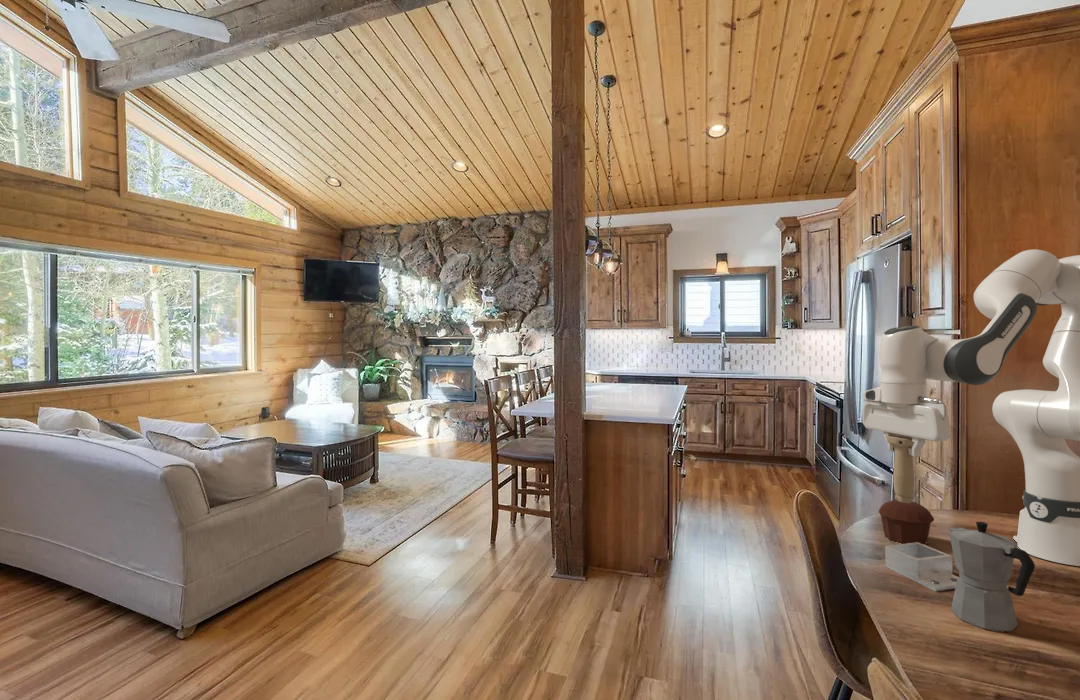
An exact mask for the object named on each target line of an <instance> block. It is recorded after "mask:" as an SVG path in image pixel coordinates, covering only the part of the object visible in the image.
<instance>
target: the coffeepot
mask: <svg viewBox="0 0 1080 700" xmlns="http://www.w3.org/2000/svg"><path fill="white" fill-rule="evenodd" d="M975 525H976V528H977V529H976V530H975V529H966V528H963V527H957V526H953V527H948V528H947V529H948V531H949V533H948V534H949V539H950V544H951V548H952V554H953V558H954V564H955V568H956V569H957V570H958V571H959V572H958V573H959V574H958V575H959V576H958V577H959V578H958V579H957V583H956V588H955V589H954V594H953V599H952V604H951V608H950V609H951V611H952V612H953V614H954V615H955V616H956V617H957V618H958V619H959V618H960V619H959V620H961V621H963V622H964V621H965V623H966V622H967V624H969V625H970V626H973V625H974V626H973V627H977V628H980V629H983V630H989V631H991V632H992V631H993V632H999V631H1001V633H1004V631H1007V632H1006V633H1008V632H1012V631H1014V630H1015V629H1016V627H1018V626H1019V625H1018V624H1019V623H1018V620H1017V615H1016V612H1015V607H1014V602H1013V600H1012V599H1013V598H1012V595H1011V593H1012V594H1013V595H1015V596H1018V597H1022V596H1024V595H1025V592H1026V589H1027V588H1028V584H1029V582H1030V579H1031V577H1032V575H1033V573H1034V571H1035V569H1036V567H1035V566H1036V564H1035V562H1034V560H1033V558H1031V555H1030V554H1028V553H1027V552H1025V551H1024V550H1021V549H1019V548H1018V547H1017V543H1016V542H1015V541H1014V540H1013V541H1012V540H1011V539H1009V538H1008V537H1006V536H1004V535H999V534H996V533H992V532H988V531H987V529H988V525H989V524H988V523H987V522H984V521H976V522H975ZM1015 559H1016V560H1019V562H1020V563H1021V566H1020V568H1019V575H1018V577H1017V578H1016V580H1015V581H1016V582H1015V583H1016V585H1015V587H1012V586H1008V581H1009V580H1010V579H1011V577H1012V570H1013V566H1014V561H1015Z"/></svg>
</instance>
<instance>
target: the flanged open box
mask: <svg viewBox="0 0 1080 700" xmlns="http://www.w3.org/2000/svg"><path fill="white" fill-rule="evenodd" d="M884 552H885V553H884V555H885V556H884V557H885V558H884V559H885V562H884V565H885V568H887V569H889V570H891V571H893V572H895V573H898V574H899V575H901V576H904V577H905V578H908V579H910V580H911V581H914V582H915V583H917V584H919V585H921V586H924V587H926V588H927V589H929V590H932V591H934V592H942V591H949V590H955V588H956V583H957V579H958V578H959V576H957V575H954V574H953V556H952V555H951V554H949V553H946V552H943V551H940V550H938V549H936V548H933V547H930V546H929V545H926V544H925V545H924V544H921V543H919V542H915V543H907V544H898V543H897V544H890V545H885V546H884Z"/></svg>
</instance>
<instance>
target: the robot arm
mask: <svg viewBox="0 0 1080 700" xmlns="http://www.w3.org/2000/svg"><path fill="white" fill-rule="evenodd" d="M973 302H974V305H975V308H976V309H977V310H978V311H979V312H980V313H981V314H982V315H984V316H985V317H986V318H988V319H989V320H990V322H989V323H988V324H987V325H986V326H985V328H984V329H983V330H982V332H981V333H980V334H978V335H976V336H972V337H968V338H962V339H940V338H938V337H935V336H932V335H931V334H929V333H927V332H925V331H924V330H923V327H921V326H920V325H905V326H898V327H897V326H896V327H893V328H890V329H887V330H885V331H884V332H883V334H882V335H881V336H882V337H881V339H880V346H879V366H880V368H881V376H880V380H879V381H880V383H879V384H880V386H878V387H874V388H871V389H867V390H864V391H863V392H862V398H863V400H864V401H863V403H862V411H861V413H862V424H863V426H864V427H865V429H868V430H873V431H879V432H883V438H884V440H885V441H886V444H887V450H888V451H889V452H892V453H895V449H894V446H893V445H891V444H890V443H888V442H887V436H897V435H898V436H905V437H912V442H915V443H914V445H913V447H912V448H908V451H909V453H908V454H909V456H912V457H914V458H920V457H921V455H922V453H921V452H922V451H921V450H922V449H923V447H924V445H925V444H926V440H927V441H932V442H946V441H947V442H948V441H949V439H950V438H951V434H952V433H951V423H950V418H949V415H948V405H947V404H945V402H943V401H942V400H941V399H940V398H930V397H927V395H928V394H927V391H928V390H927V389H928V388H927V380H933V381H941V382H952V383H953V382H954V383H960V384H966V385H972V386H980V385H984V384H987V383H989V382H991V381H992V380H993V379H994V378H995V377H996V376H997V375H998V374H999V372H1000V371H1001V369H1002V367H1003V365H1004V361H1005V359H1006V357H1007V356H1008V355H1009V353H1010V351H1011V350H1012V348H1013V347H1014V346H1015V344H1016V343H1017V342H1018V341H1019V339H1020V338H1021V337H1022V336H1023V334H1024V333H1025V332H1026V331H1027V330H1028V327H1030V325H1031V324H1032V322H1033V320H1034V319H1035V317H1036V315H1037V312H1038V306H1049V305H1060V308H1061V315H1060V317H1059V318H1058V321H1057V323H1056V325H1055V327H1054V329H1053V331H1052V333H1051V336H1050V340H1049V341H1048V345H1047V347H1046V350H1045V353H1044V355H1043V358H1042V365H1043V368H1045V370H1046V371H1047V372H1048V373H1049V374H1050V375H1051V376H1054V377H1056V378H1057V379H1058V388H1057V389H1056V390H1041V389H1028V388H1027V389H1025V388H1024V389H1015V390H1008V391H1004V392H1003V391H1002V392H1001V393H1000V394H998V395H997V396H996V398H995V399H994V401H993V403H992V406H991V407H992V408H991V409H992V415H993V418H994V420H995V421H996V422H997V423H998V424H999V425H1000V426H1001V427H1003V428H1004V429H1005V430H1006V431H1007V432H1008V433H1009V434H1010V436H1011V437H1012V439H1013V440H1014V441H1015V443H1016V445H1017V447H1018V448H1019V451H1020V454H1021V456H1022V460H1023V466H1024V479H1025V489H1024V490H1023V491H1022V492H1023V494H1022V504H1023V506H1024V508H1022V509H1021V510H1020V511H1019V517H1018V526H1017V527H1018V528H1017V535H1013V537H1012V540H1013V539H1014V540H1015V541H1016V542H1017V543H1016V542H1015V541H1014V540H1013V541H1014V542H1015V543H1016V544H1017V546H1018V547H1019V548H1020V549H1021V550H1024V551H1025V552H1027V554H1028V555H1029V556H1033V557H1036V558H1039V559H1041V560H1042V559H1043V560H1046V561H1050V562H1053V563H1059V564H1063V565H1068V566H1069V565H1070V566H1076V567H1080V456H1078V455H1077V454H1075V453H1074V451H1072V450H1071V449H1070V447H1069V446H1068V444H1067V443H1066V440H1072V441H1079V442H1080V254H1077V255H1071V256H1065V257H1062V258H1059V259H1058V258H1057V256H1056V255H1054V254H1053V253H1051V252H1049V251H1046V250H1042V249H1035V248H1033V249H1027V250H1023V251H1021V252H1018V253H1017V254H1015V255H1014V256H1012V257H1010V258H1008V259H1007V260H1006V261H1003V263H1001V264H1000V265H998V267H996V268H995V269H994V270H993V271H992V272H991V273H989V275H988V276H986V277H985V278H984V279H983V280H982V281H981V282H980V283H979V284H978V286H977V287H976V289H975V291H974V292H973ZM1017 546H1016V547H1017ZM1018 547H1017V548H1018Z"/></svg>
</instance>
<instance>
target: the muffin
mask: <svg viewBox="0 0 1080 700" xmlns="http://www.w3.org/2000/svg"><path fill="white" fill-rule="evenodd" d="M878 514H879V515H880V518H881V523H882V524H881V525H882V529H883V534H884V538H886V537H887V538H888V539H887V538H886V539H887V540H889V542H892V541H894V542H893V543H895V542H898V543H901V544H907V543H915V542H919V543H921V544H925V545H926V544H927V543H928V539H929V535H930V534H929V533H930V528H931V523H933V522H934V521H935V518H934V516H933V515H932V513H931V512H930V511H929V510H928V508H927V507H925V506H923V505H922V504H920V503H918V502H915V501H912V502H911V503H902V502H899V501H896V499H893V500H889V501H887V502H884V503H883V504H882V505H881V506H880V508H879V509H878ZM926 542H927V543H926ZM898 543H897V544H898Z"/></svg>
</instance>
